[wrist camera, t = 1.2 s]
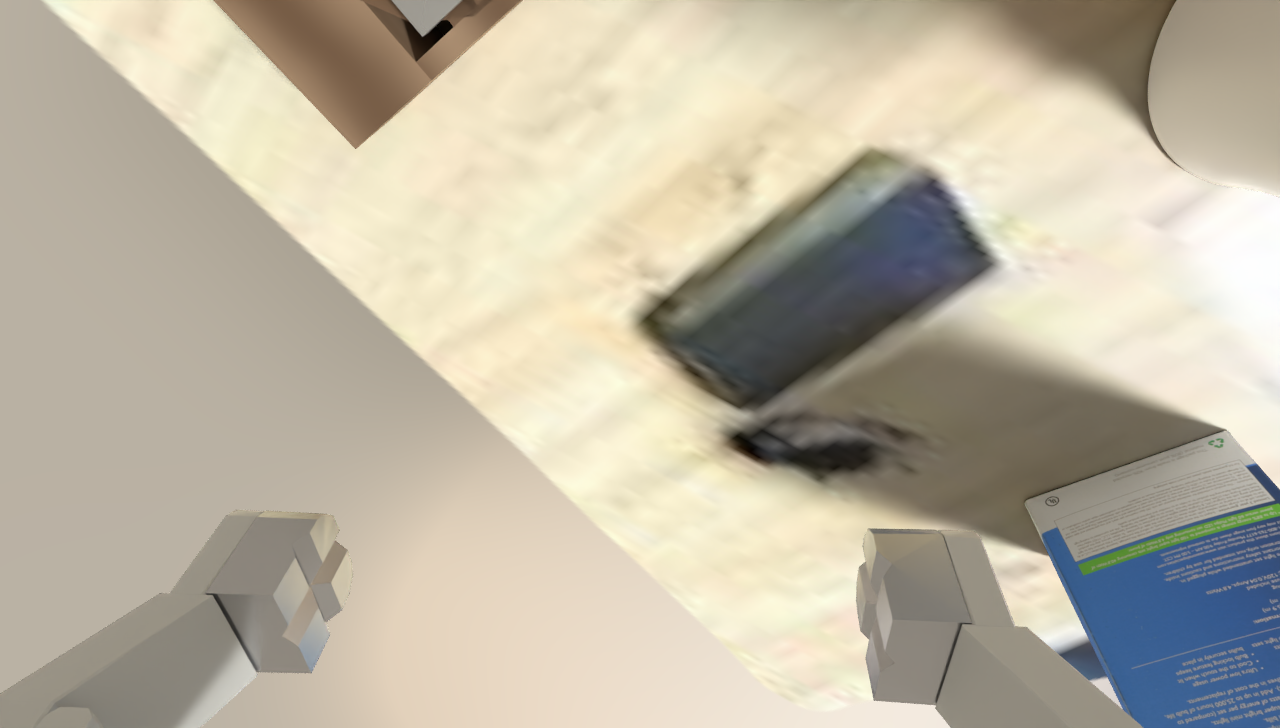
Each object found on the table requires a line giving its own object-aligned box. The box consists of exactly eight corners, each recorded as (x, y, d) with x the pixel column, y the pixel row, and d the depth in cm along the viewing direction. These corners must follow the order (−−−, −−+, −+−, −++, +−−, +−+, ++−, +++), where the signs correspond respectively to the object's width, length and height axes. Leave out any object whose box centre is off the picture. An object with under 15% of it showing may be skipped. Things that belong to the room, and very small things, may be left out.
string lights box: (1053, 560, 56) (1258, 991, 35) (1019, 495, 53) (1224, 928, 32) (1253, 498, 51) (1632, 954, 30) (1230, 422, 48) (1638, 875, 27)
